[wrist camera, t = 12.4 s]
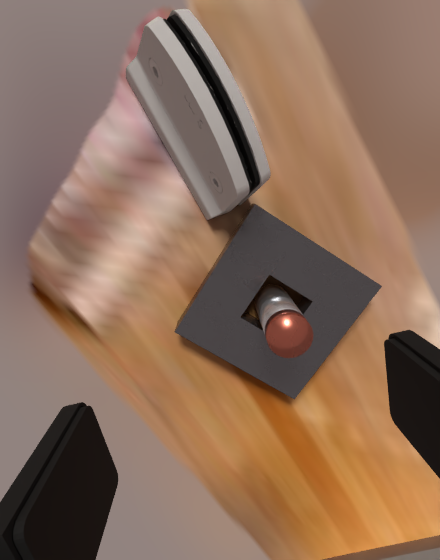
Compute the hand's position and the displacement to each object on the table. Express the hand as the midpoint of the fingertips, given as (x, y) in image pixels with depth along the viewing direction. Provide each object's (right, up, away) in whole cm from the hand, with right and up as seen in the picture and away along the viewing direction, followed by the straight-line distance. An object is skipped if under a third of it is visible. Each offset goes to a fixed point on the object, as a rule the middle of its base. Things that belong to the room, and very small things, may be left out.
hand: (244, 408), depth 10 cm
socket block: (+5, +2, +27) cm, 28 cm away
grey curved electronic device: (-3, +19, +23) cm, 30 cm away
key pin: (+5, +2, +27) cm, 28 cm away
